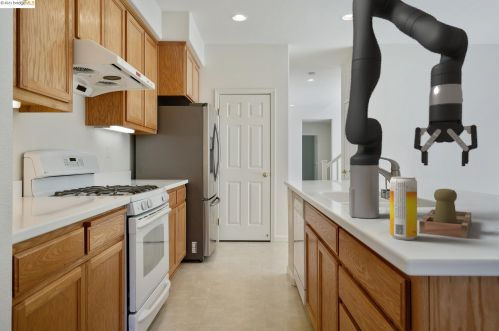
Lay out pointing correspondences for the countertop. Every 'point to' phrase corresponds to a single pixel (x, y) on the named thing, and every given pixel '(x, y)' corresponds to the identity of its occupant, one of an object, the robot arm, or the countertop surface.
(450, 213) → the cork
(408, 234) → the beer can
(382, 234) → the countertop surface
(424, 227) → the rail
